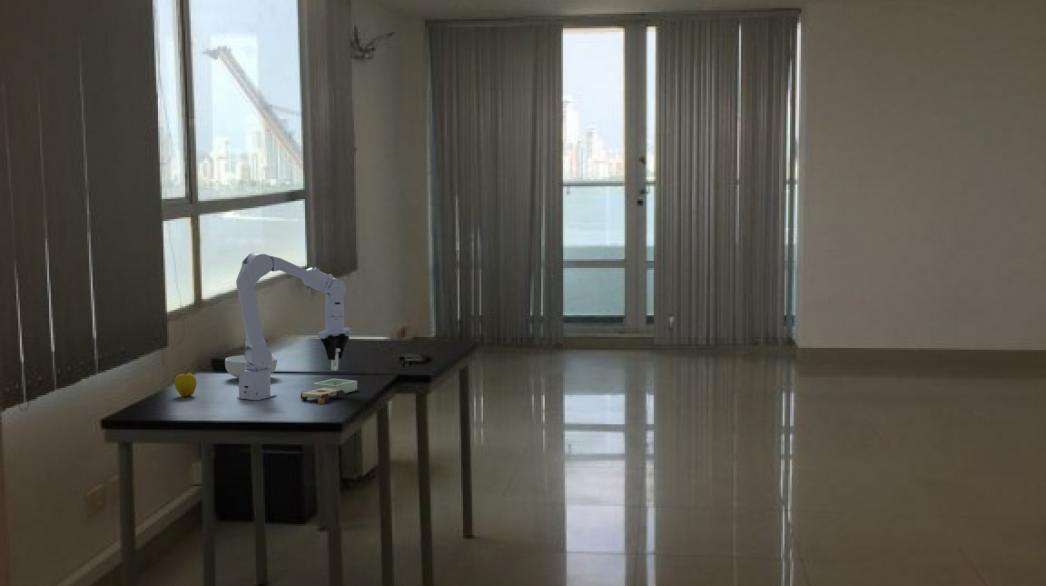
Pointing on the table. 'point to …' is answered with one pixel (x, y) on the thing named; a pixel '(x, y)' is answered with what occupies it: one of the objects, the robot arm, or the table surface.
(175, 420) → the table surface
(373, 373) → the table surface
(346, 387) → the tray
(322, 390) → the toy car
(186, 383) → the apple
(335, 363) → the stop pin
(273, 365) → the cereal bowl
